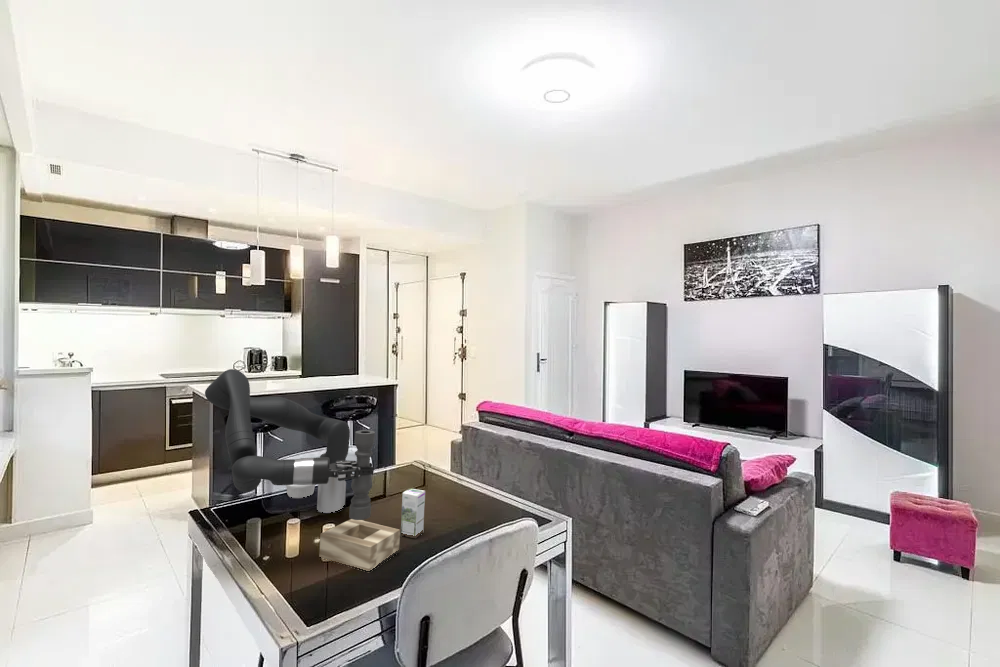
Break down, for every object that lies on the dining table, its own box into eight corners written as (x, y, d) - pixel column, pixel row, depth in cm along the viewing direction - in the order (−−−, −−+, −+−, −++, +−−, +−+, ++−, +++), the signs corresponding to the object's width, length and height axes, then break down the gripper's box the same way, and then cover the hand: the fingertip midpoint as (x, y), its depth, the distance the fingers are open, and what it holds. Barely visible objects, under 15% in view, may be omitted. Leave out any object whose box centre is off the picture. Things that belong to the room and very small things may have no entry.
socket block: (351, 540, 151) (353, 518, 151) (398, 552, 144) (400, 529, 144) (319, 557, 138) (320, 533, 139) (368, 572, 131) (370, 547, 131)
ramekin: (280, 494, 190) (280, 481, 190) (306, 488, 199) (307, 476, 199) (293, 501, 183) (294, 487, 183) (320, 495, 191) (321, 482, 191)
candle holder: (351, 512, 144) (356, 429, 144) (372, 512, 145) (377, 430, 145) (346, 519, 138) (352, 433, 138) (368, 520, 138) (373, 434, 139)
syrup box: (423, 533, 160) (426, 489, 160) (415, 539, 154) (417, 495, 154) (408, 530, 161) (411, 487, 162) (399, 536, 156) (402, 492, 156)
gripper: (311, 464, 130) (376, 462, 136) (312, 452, 143) (371, 450, 149) (310, 492, 130) (374, 488, 136) (310, 477, 143) (369, 474, 149)
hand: (372, 468), depth 142 cm, fingers closed on candle holder, 3 cm apart
